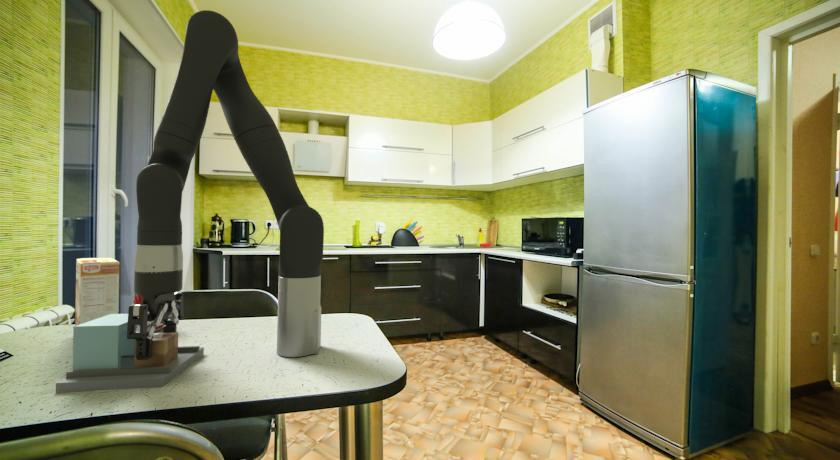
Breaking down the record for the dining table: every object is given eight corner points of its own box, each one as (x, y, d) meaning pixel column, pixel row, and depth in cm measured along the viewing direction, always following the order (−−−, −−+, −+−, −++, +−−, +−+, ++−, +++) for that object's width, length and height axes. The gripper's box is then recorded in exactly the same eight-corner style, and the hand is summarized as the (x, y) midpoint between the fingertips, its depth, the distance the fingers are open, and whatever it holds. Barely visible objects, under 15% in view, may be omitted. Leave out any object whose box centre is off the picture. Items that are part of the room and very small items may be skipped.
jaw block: (177, 357, 70) (178, 332, 70) (163, 366, 65) (164, 340, 65) (150, 358, 69) (150, 333, 69) (134, 367, 64) (134, 341, 64)
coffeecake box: (73, 335, 87) (75, 258, 87) (111, 330, 92) (113, 257, 92) (76, 350, 77) (78, 262, 77) (119, 343, 82) (120, 261, 82)
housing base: (203, 354, 76) (204, 322, 76) (162, 386, 60) (163, 346, 60) (121, 357, 73) (122, 324, 73) (55, 392, 57) (56, 350, 57)
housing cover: (148, 353, 71) (149, 313, 71) (117, 371, 62) (118, 325, 62) (110, 354, 70) (111, 313, 70) (72, 373, 61) (73, 326, 61)
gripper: (160, 272, 61) (157, 364, 61) (197, 264, 75) (195, 339, 75) (111, 272, 60) (109, 366, 60) (159, 264, 74) (157, 340, 74)
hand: (157, 351), depth 67 cm, fingers open, 8 cm apart
